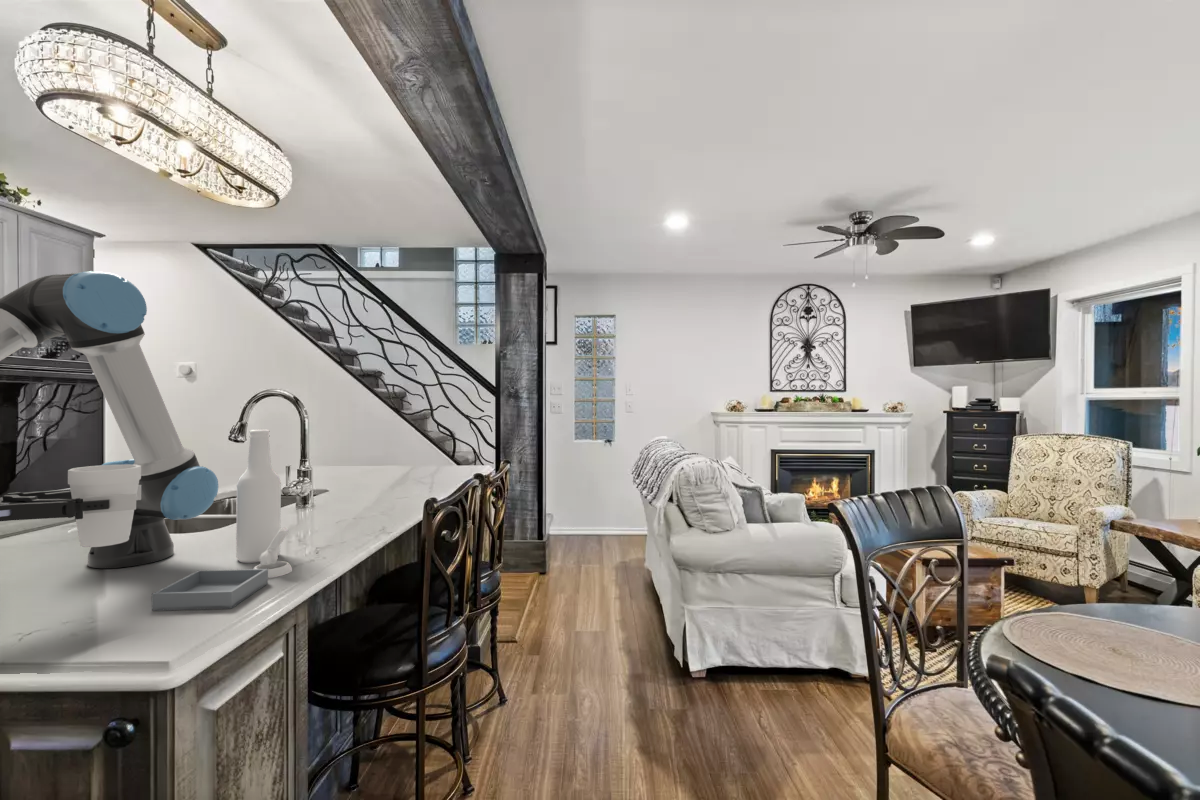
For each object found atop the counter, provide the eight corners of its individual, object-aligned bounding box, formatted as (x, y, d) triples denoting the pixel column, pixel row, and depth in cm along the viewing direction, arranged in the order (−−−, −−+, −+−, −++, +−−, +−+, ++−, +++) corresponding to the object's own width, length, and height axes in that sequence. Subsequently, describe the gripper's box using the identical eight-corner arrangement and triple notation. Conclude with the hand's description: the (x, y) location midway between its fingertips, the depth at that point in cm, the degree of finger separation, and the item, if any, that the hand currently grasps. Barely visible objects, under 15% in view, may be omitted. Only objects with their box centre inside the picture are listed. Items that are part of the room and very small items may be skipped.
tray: (198, 585, 111) (198, 570, 111) (267, 583, 112) (267, 568, 112) (152, 610, 98) (152, 593, 98) (231, 608, 99) (231, 591, 99)
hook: (300, 554, 115) (270, 537, 114) (271, 597, 117) (240, 580, 115) (316, 537, 122) (287, 521, 121) (287, 578, 124) (259, 562, 123)
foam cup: (148, 540, 98) (149, 467, 98) (79, 552, 90) (79, 473, 90) (128, 532, 103) (128, 463, 103) (60, 543, 95) (60, 468, 95)
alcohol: (231, 565, 124) (232, 431, 123) (241, 554, 132) (242, 429, 132) (276, 561, 127) (277, 430, 127) (283, 551, 135) (284, 428, 135)
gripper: (-26, 521, 95) (143, 507, 108) (-78, 551, 77) (132, 530, 90) (-26, 477, 95) (143, 468, 108) (-78, 497, 77) (132, 484, 90)
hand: (138, 496), depth 99 cm, fingers closed on foam cup, 9 cm apart
